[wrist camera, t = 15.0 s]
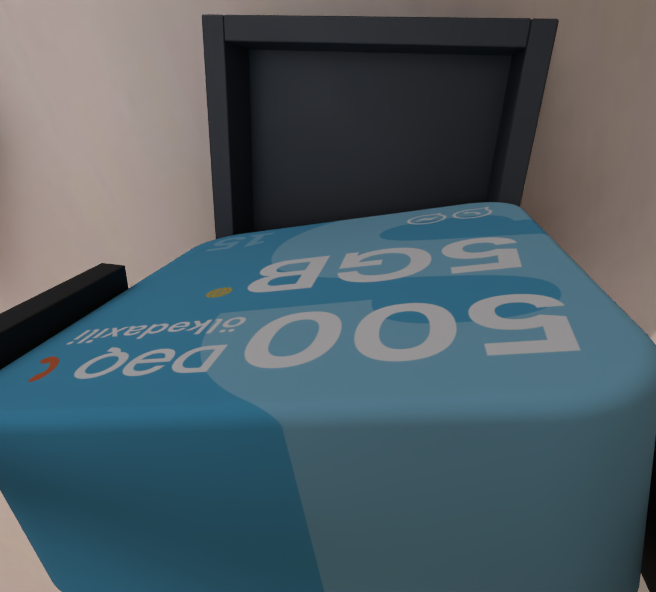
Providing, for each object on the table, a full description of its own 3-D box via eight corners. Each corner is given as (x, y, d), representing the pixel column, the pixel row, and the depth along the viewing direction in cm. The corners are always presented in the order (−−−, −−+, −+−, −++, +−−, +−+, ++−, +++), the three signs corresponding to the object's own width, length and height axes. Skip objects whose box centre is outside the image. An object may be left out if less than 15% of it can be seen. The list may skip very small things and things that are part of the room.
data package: (514, 196, 16) (725, 397, 5) (517, 312, 17) (681, 658, 6) (206, 237, 19) (-94, 423, 8) (233, 333, 20) (16, 600, 9)
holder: (535, 33, 16) (559, 18, 14) (460, 421, 23) (466, 464, 21) (234, 28, 18) (201, 14, 15) (248, 389, 25) (227, 425, 22)
